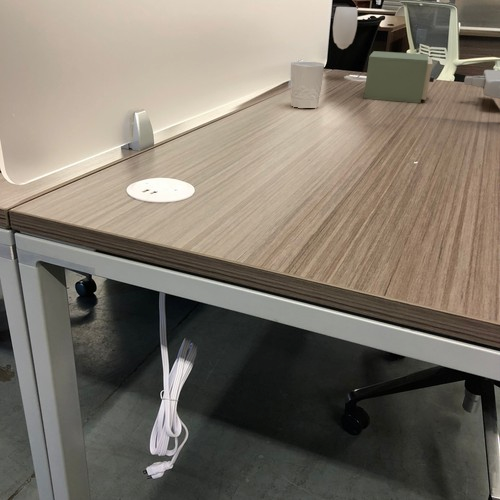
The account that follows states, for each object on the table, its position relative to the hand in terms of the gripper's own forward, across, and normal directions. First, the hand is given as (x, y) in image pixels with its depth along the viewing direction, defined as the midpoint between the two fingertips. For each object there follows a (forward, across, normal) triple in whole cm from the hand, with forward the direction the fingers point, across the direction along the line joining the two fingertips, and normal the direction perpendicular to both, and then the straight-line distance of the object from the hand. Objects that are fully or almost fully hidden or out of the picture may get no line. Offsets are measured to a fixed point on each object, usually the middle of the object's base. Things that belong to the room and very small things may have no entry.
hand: (464, 80), depth 131 cm
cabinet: (+17, +1, +6) cm, 18 cm away
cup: (+37, -20, +6) cm, 42 cm away
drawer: (+15, +1, +5) cm, 16 cm away
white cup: (+36, +25, +6) cm, 44 cm away
